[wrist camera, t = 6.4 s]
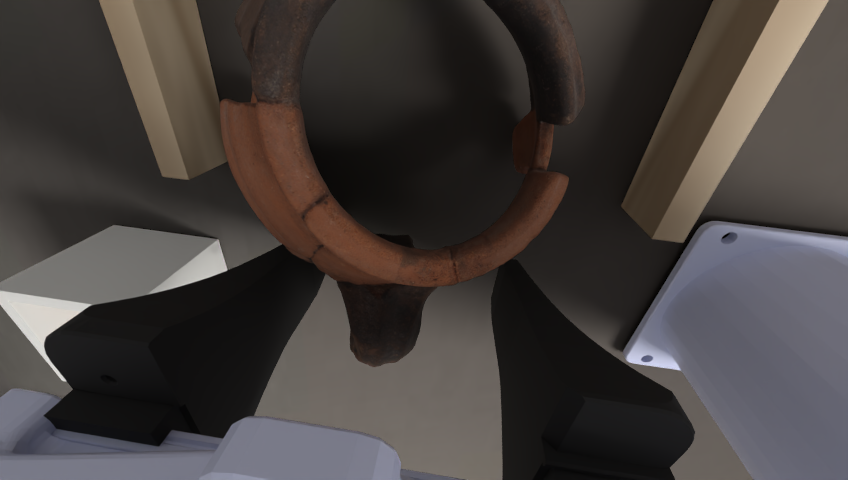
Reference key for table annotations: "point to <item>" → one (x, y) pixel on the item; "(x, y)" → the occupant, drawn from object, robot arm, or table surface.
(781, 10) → the birch bay
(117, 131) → the table surface
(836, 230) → the table surface
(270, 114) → the brown hollow curved piece
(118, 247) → the white square open box
